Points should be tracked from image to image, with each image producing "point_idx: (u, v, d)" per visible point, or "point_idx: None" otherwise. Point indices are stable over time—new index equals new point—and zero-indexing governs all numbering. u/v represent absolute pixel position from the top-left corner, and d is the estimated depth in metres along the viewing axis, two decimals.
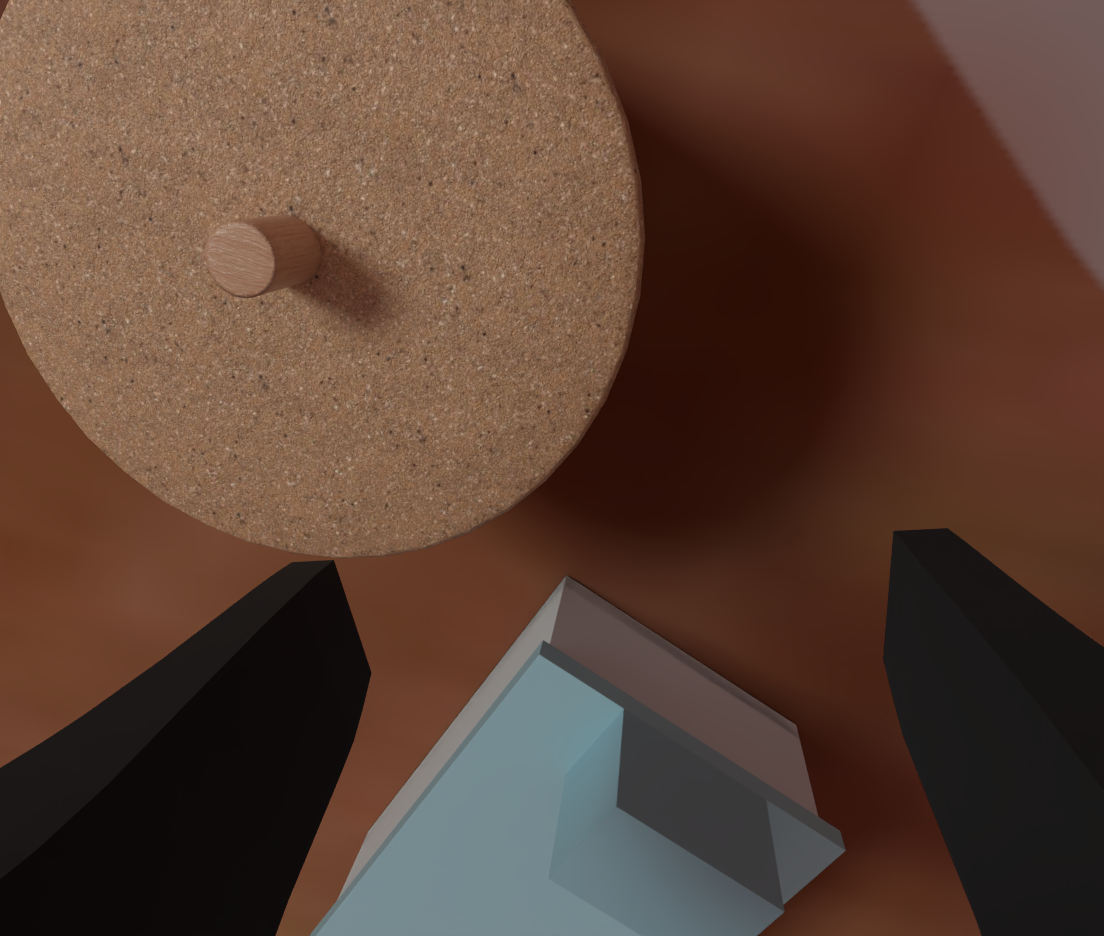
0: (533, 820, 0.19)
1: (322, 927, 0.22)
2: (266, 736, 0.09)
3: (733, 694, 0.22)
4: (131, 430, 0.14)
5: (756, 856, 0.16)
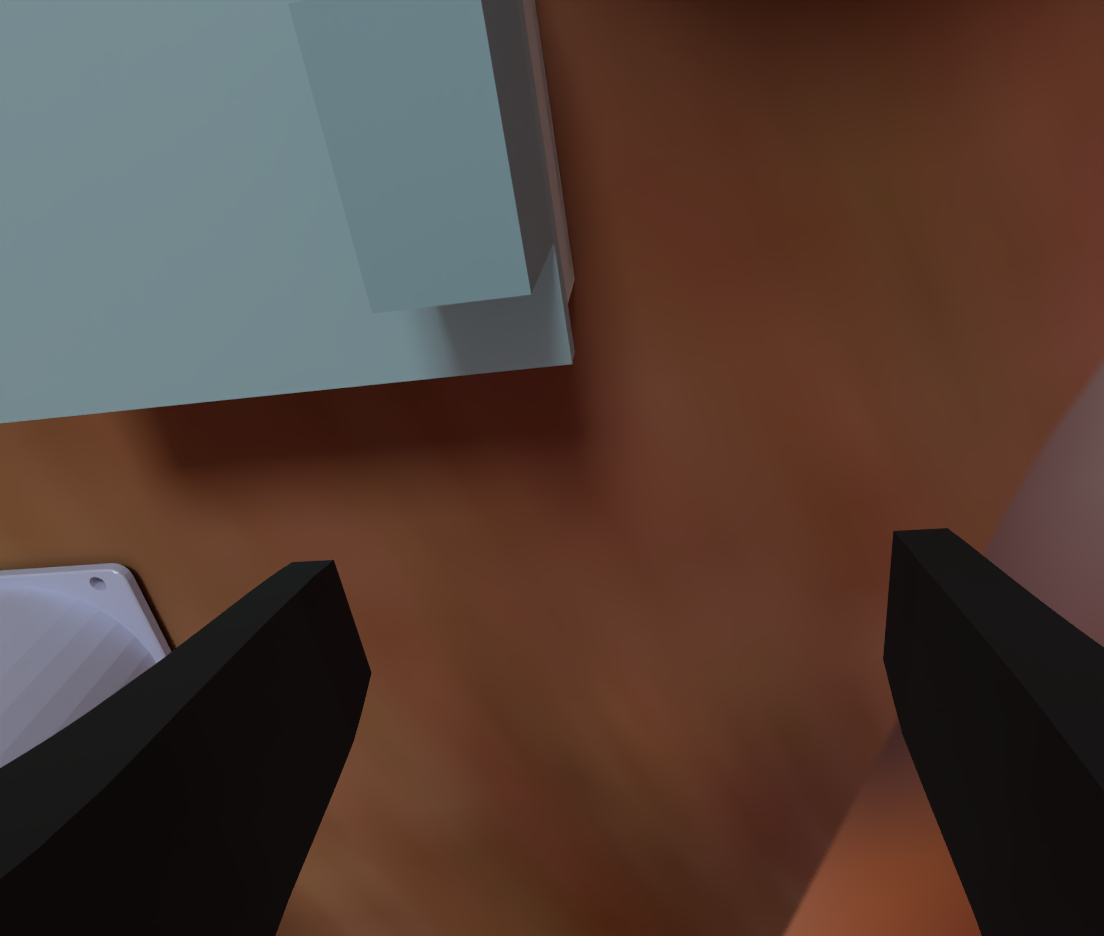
0: (268, 35, 0.13)
1: None
2: (267, 734, 0.09)
3: (557, 185, 0.17)
4: None
5: (534, 239, 0.12)
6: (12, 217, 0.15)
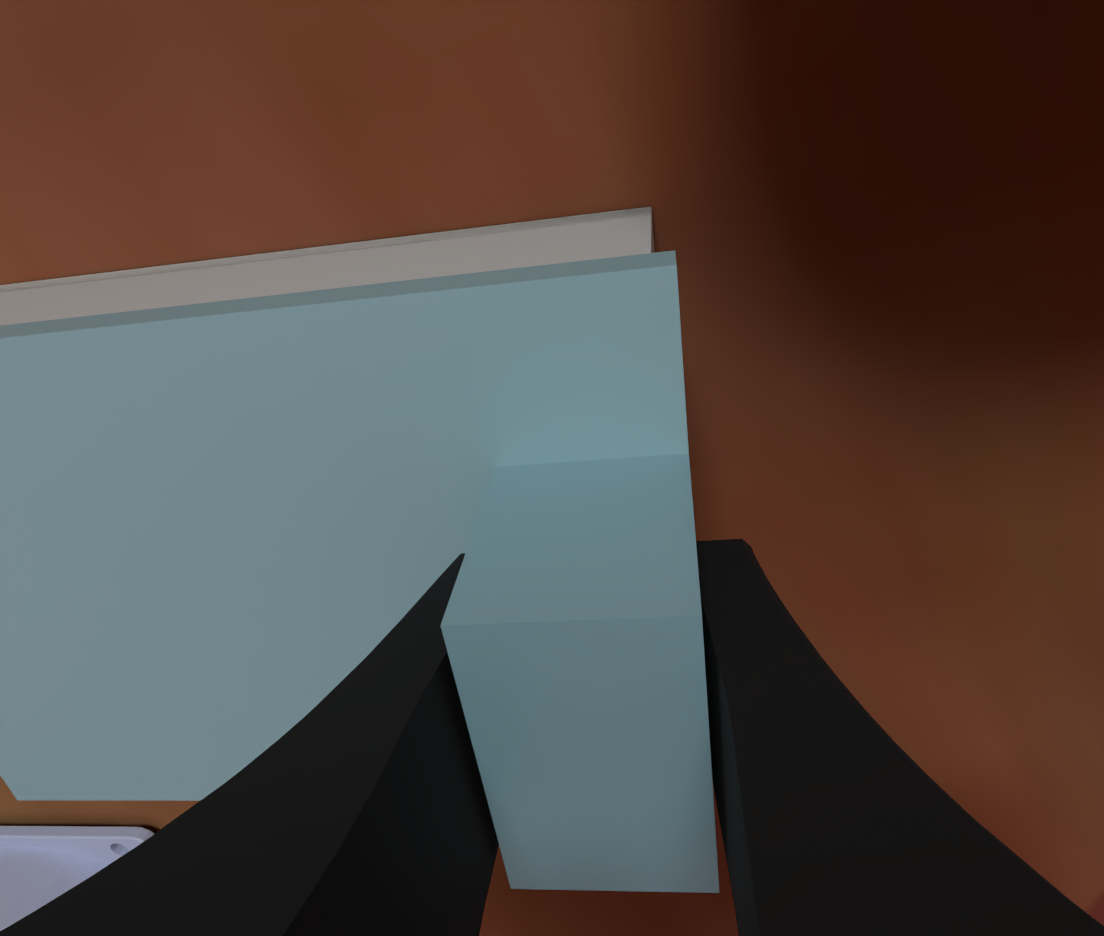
0: (373, 486, 0.10)
1: None
2: None
3: None
4: None
5: None
6: (45, 626, 0.12)
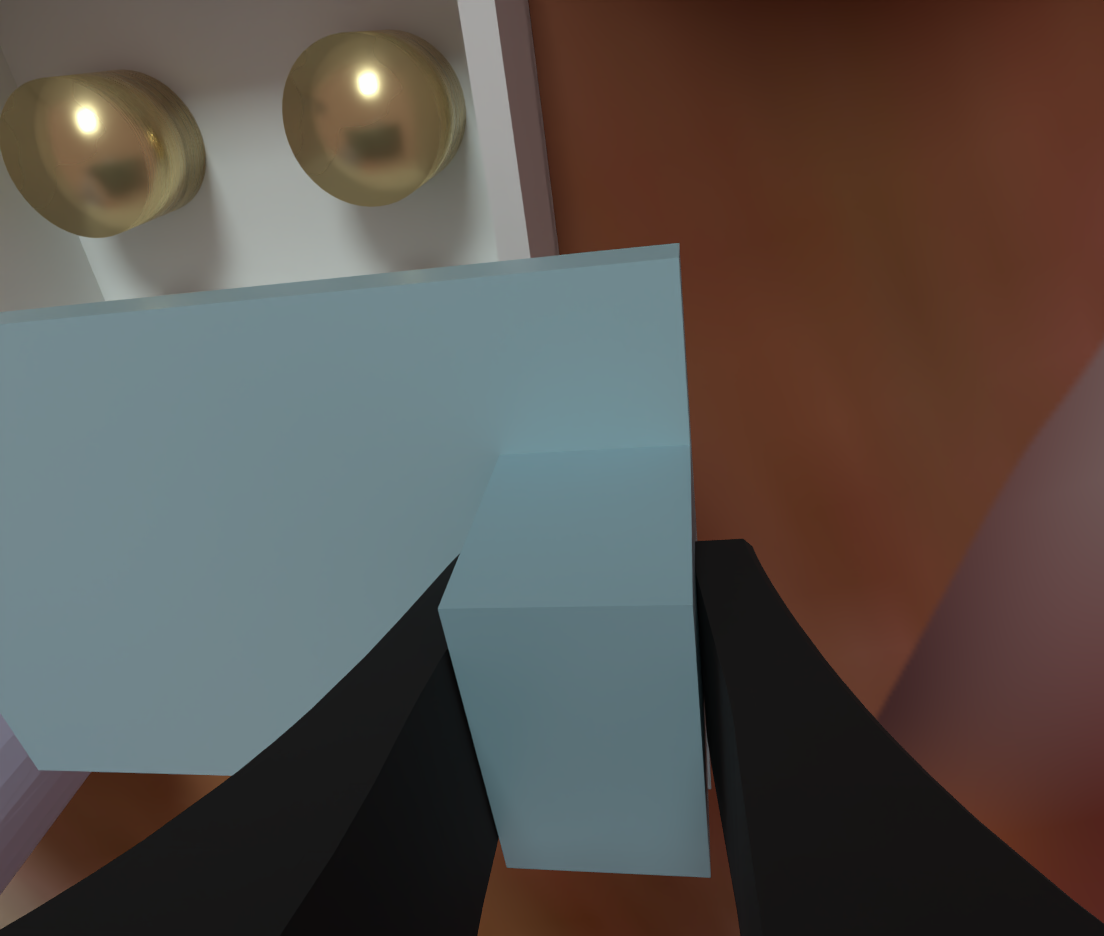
0: (380, 472, 0.11)
1: None
2: (469, 732, 0.08)
3: (546, 178, 0.17)
4: None
5: (706, 772, 0.10)
6: (64, 602, 0.13)
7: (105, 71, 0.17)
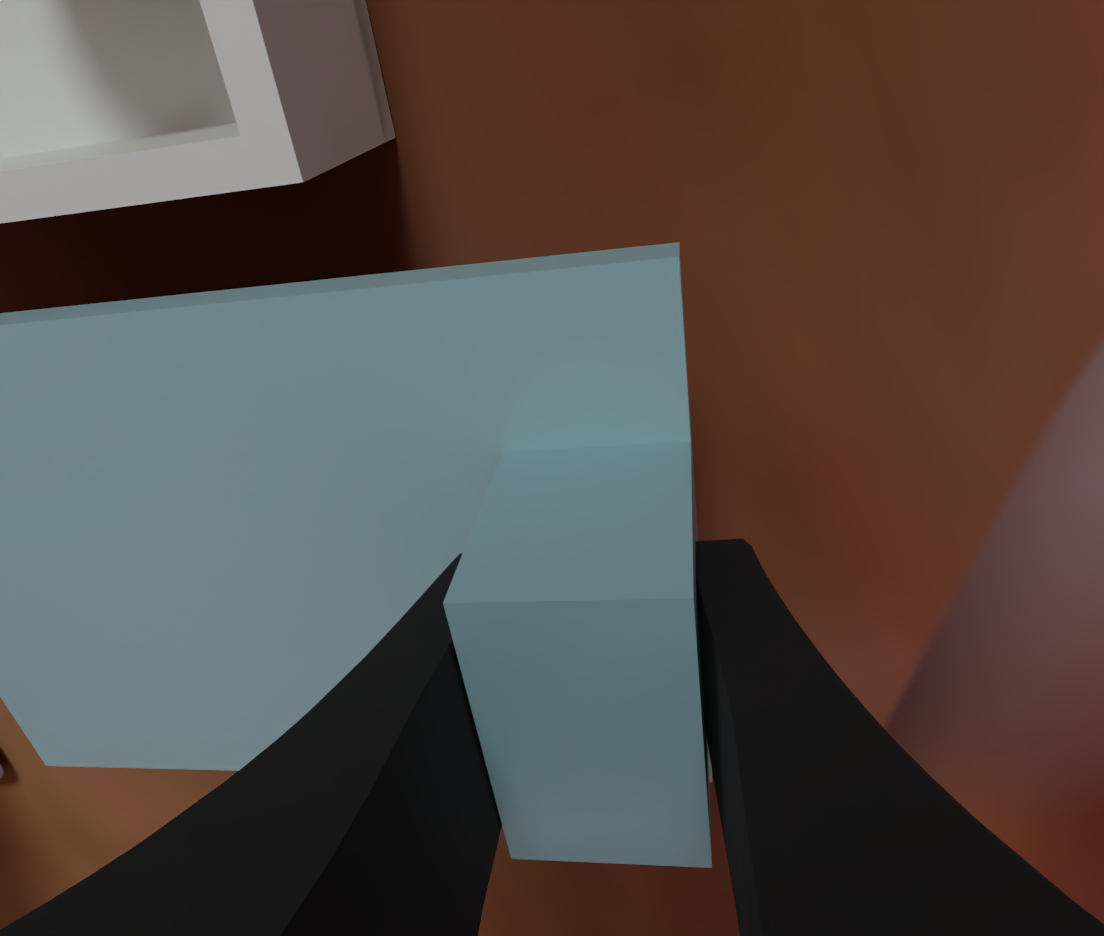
0: (384, 469, 0.11)
1: None
2: (469, 733, 0.08)
3: None
4: None
5: (707, 764, 0.10)
6: (72, 599, 0.13)
7: None
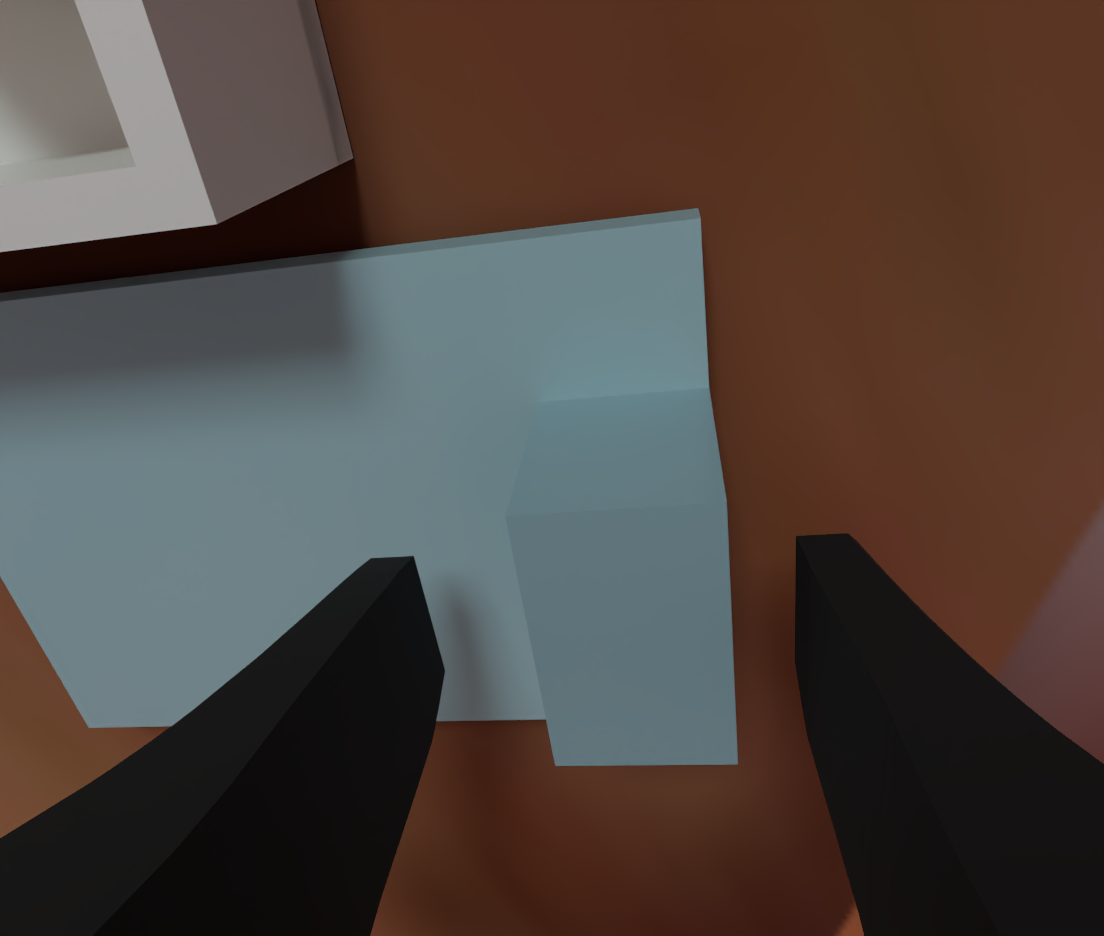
0: (429, 421, 0.12)
1: None
2: (361, 735, 0.09)
3: None
4: None
5: None
6: (126, 557, 0.14)
7: None
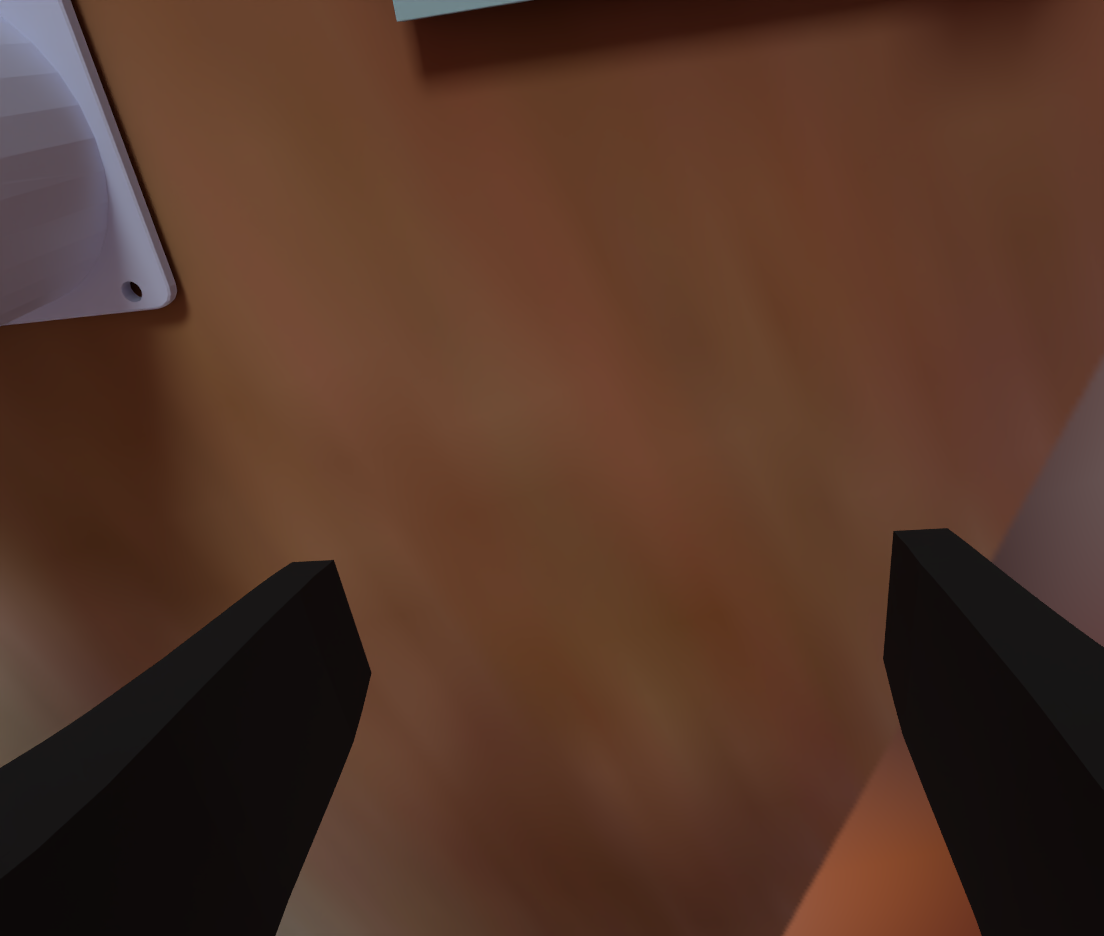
0: None
1: None
2: (266, 736, 0.09)
3: None
4: None
5: None
6: None
7: None
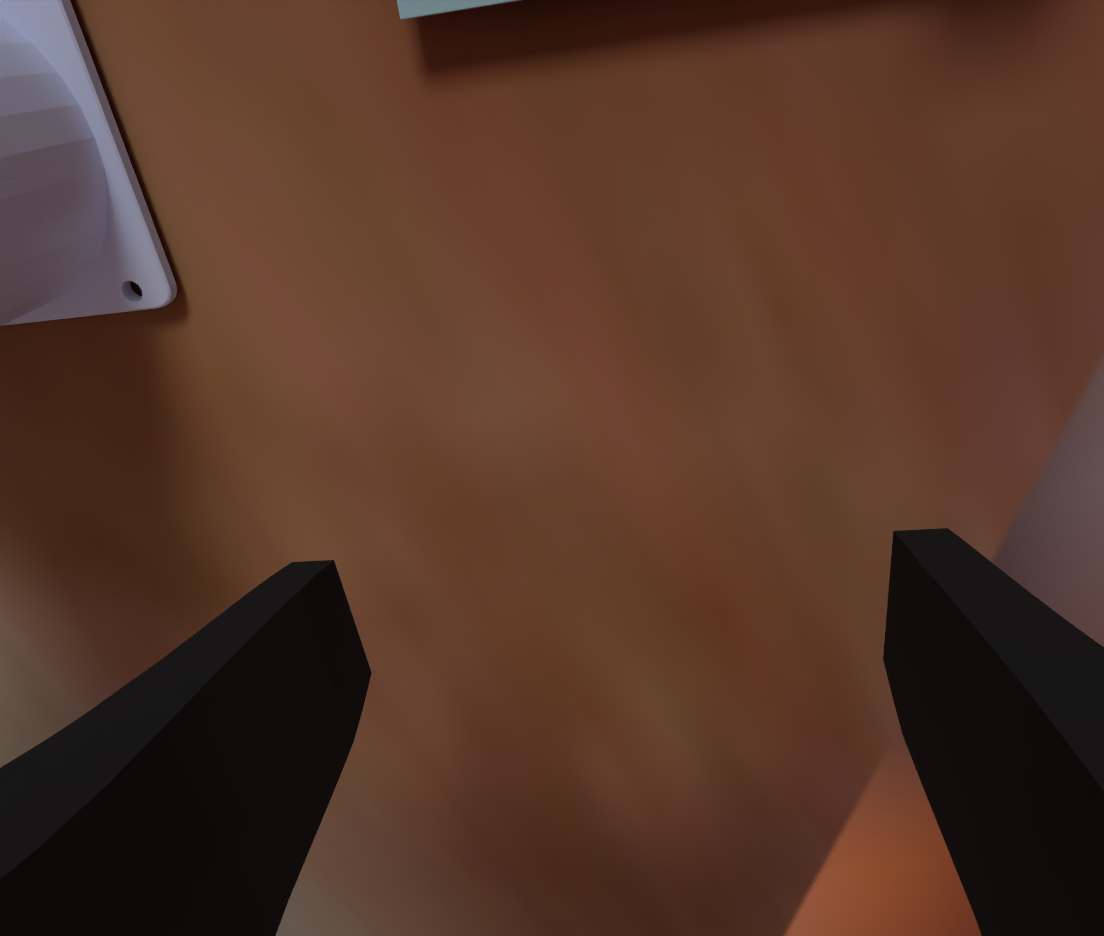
0: None
1: None
2: (267, 735, 0.09)
3: None
4: None
5: None
6: None
7: None
